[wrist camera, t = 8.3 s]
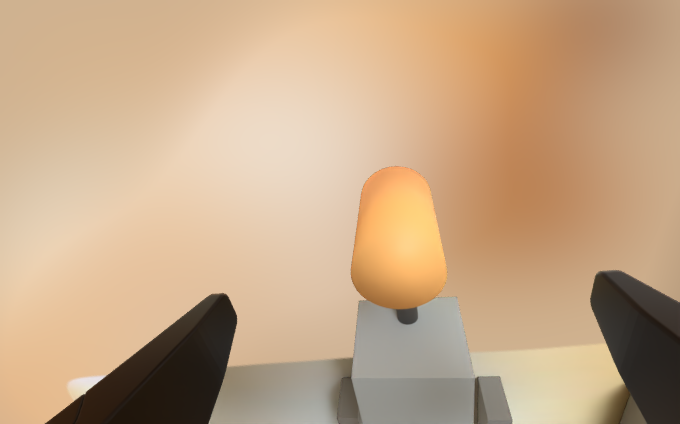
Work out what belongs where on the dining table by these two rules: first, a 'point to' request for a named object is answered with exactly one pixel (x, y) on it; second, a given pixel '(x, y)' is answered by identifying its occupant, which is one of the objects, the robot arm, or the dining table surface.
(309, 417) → the dining table surface
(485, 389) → the lane rack
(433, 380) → the orange knob joystick
